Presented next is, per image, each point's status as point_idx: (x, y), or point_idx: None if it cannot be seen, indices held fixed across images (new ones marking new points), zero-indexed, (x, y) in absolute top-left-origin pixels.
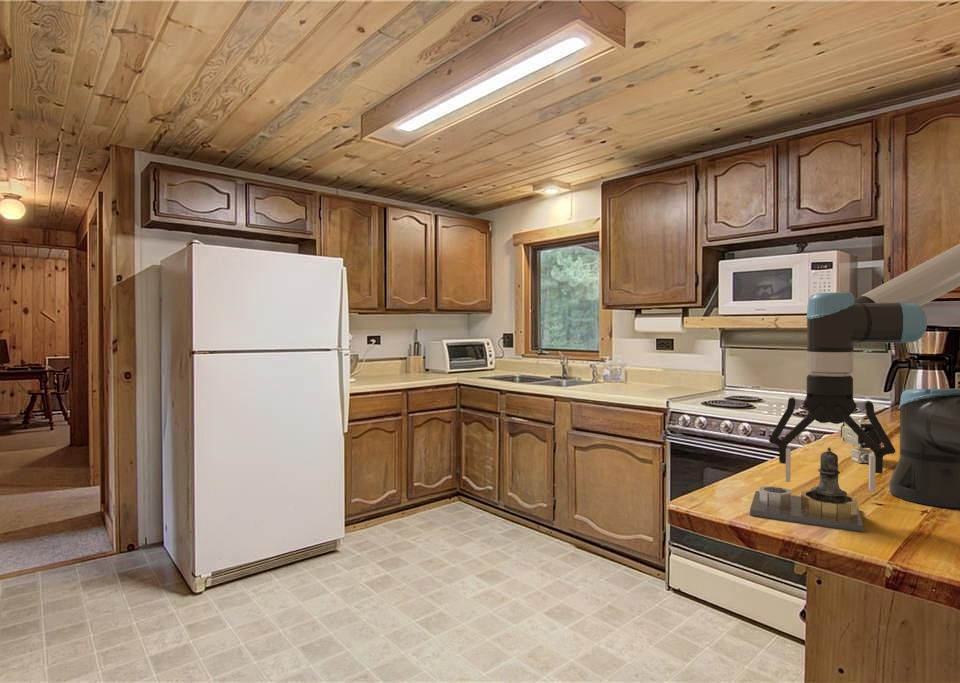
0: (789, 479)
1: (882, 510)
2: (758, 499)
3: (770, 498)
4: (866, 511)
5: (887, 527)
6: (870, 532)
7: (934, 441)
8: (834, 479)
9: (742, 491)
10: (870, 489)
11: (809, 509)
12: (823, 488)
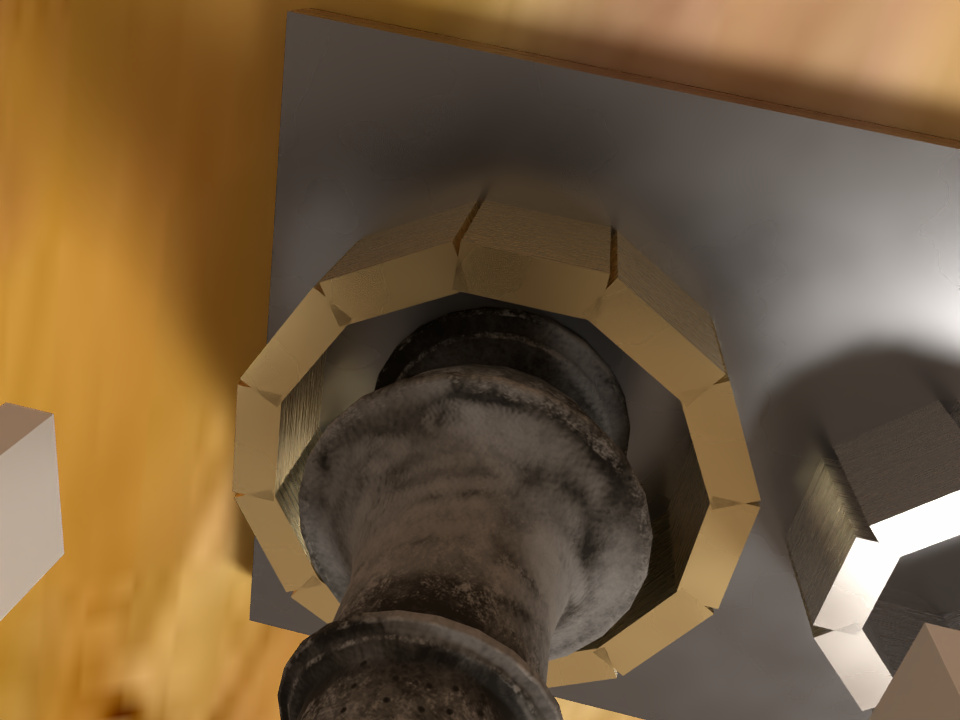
0: (944, 652)
1: (114, 603)
2: None
3: None
4: (213, 564)
5: (112, 225)
6: (251, 30)
7: None
8: (388, 572)
9: None
10: (33, 424)
11: (705, 319)
12: (539, 502)
